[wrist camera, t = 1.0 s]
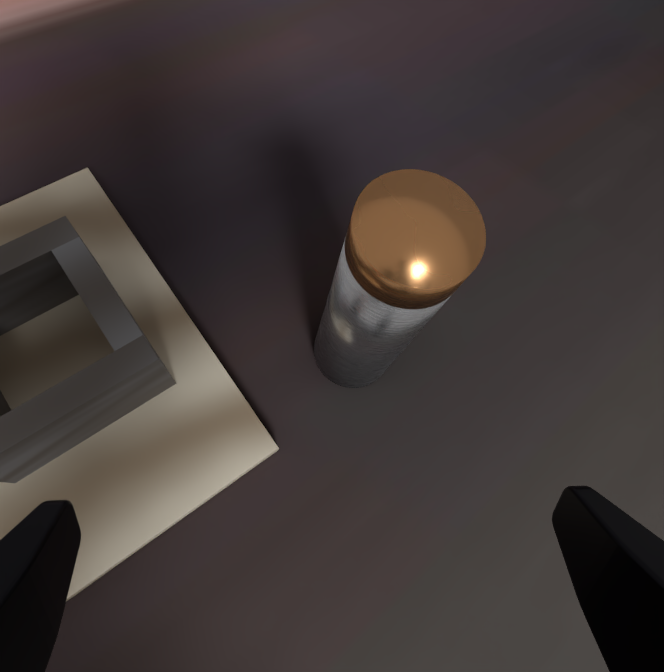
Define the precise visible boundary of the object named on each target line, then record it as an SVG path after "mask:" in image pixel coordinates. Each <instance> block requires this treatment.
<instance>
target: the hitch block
mask: <svg viewBox="0 0 664 672" xmlns="http://www.w3.org/2000/svg"><path fill="white" fill-rule="evenodd" d="M278 449H279V448H278V446H277V445H276V443H275V442H274V440H273V439H272V438H271V436H270V435H269V433H268V432H267V430H266V429H265V427H264V426H263V424H262V423H261V421H260V420H259V418H258V417H257V416H256V414H255V413H254V411H253V410H252V408H251V407H250V405H249V404H248V402H247V401H246V399H245V398H244V396H243V395H242V393H241V392H240V391H239V389H238V388H237V386H236V385H235V383H234V382H233V380H232V379H231V377H230V376H229V374H228V373H227V371H226V370H225V369H224V367H223V366H222V364H221V363H220V361H219V360H218V358H217V357H216V355H215V354H214V352H213V351H212V349H211V348H210V347H209V345H208V344H207V342H206V341H205V339H204V338H203V336H202V335H201V333H200V332H199V330H198V329H197V327H196V326H195V324H194V323H193V322H192V320H191V319H190V317H189V316H188V314H187V313H186V311H185V310H184V308H183V307H182V305H181V304H180V302H179V301H178V300H177V298H176V297H175V295H174V294H173V292H172V291H171V289H170V288H169V286H168V285H167V283H166V282H165V280H164V279H163V278H162V276H161V275H160V273H159V272H158V270H157V269H156V267H155V266H154V264H153V263H152V261H151V260H150V258H149V257H148V255H147V254H146V253H145V251H144V250H143V248H142V247H141V245H140V244H139V242H138V241H137V239H136V238H135V236H134V235H133V233H132V232H131V231H130V229H129V228H128V226H127V225H126V223H125V222H124V220H123V219H122V217H121V216H120V214H119V213H118V211H117V210H116V209H115V207H114V206H113V204H112V203H111V201H110V200H109V198H108V197H107V195H106V194H105V192H104V191H103V189H102V188H101V186H100V185H99V184H98V182H97V181H96V179H95V178H94V176H93V175H92V173H91V172H90V170H89V169H88V168H85V169H83V170H81V171H79V172H76V173H74V174H72V175H70V176H67V177H65V178H63V179H61V180H58V181H56V182H54V183H52V184H49V185H47V186H45V187H43V188H40V189H38V190H36V191H34V192H31V193H29V194H27V195H25V196H22V197H20V198H18V199H16V200H13V201H11V202H9V203H7V204H4V205H2V206H0V540H1V539H2V538H3V537H4V536H5V535H6V534H7V533H8V532H10V531H11V530H12V529H13V528H14V527H15V526H16V525H17V524H18V523H19V522H21V521H22V520H23V519H24V518H25V517H26V516H27V515H28V514H29V513H31V512H32V511H33V510H34V509H35V508H36V507H37V506H38V505H39V504H41V503H42V502H44V501H48V500H69V501H70V502H71V503H72V504H73V507H74V510H75V513H76V516H77V520H78V523H79V526H80V530H81V542H80V547H79V551H78V555H77V559H76V563H75V567H74V571H73V575H72V579H71V583H70V587H69V591H68V595H67V599H66V602H67V601H68V600H69V599H71V598H72V597H74V596H75V595H76V594H78V593H79V592H81V591H82V590H83V589H85V588H86V587H88V586H89V585H90V584H92V583H93V582H95V581H96V580H97V579H99V578H100V577H102V576H103V575H104V574H106V573H107V572H109V571H110V570H111V569H113V568H114V567H116V566H117V565H118V564H120V563H121V562H123V561H124V560H125V559H127V558H128V557H130V556H131V555H132V554H134V553H135V552H137V551H138V550H139V549H141V548H142V547H144V546H145V545H146V544H148V543H149V542H151V541H152V540H153V539H155V538H156V537H158V536H159V535H160V534H162V533H163V532H165V531H166V530H167V529H169V528H170V527H172V526H173V525H174V524H176V523H177V522H179V521H180V520H181V519H183V518H184V517H186V516H187V515H188V514H190V513H191V512H193V511H194V510H195V509H197V508H198V507H200V506H201V505H202V504H204V503H205V502H207V501H208V500H209V499H211V498H212V497H214V496H215V495H216V494H218V493H219V492H221V491H222V490H223V489H225V488H226V487H228V486H229V485H230V484H232V483H233V482H235V481H236V480H237V479H239V478H240V477H242V476H243V475H244V474H246V473H247V472H249V471H250V470H251V469H253V468H254V467H256V466H257V465H258V464H260V463H261V462H263V461H264V460H265V459H267V458H268V457H270V456H271V455H272V454H274V453H275V452H277V451H278Z"/></svg>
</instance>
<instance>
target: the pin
mask: <svg viewBox="0 0 664 672" xmlns="http://www.w3.org/2000/svg"><path fill="white" fill-rule="evenodd" d="M485 244H486V231H485V225H484V221H483V218H482V216H481V213H480V211H479V209H478V208H477V206H476V204H475V203H474V201H473V200H472V199H471V198H470V196H469V195H468V194H467V193H466V192H465V191H464V190H463V189H461V188H460V187H459V186H458V185H456V184H455V183H453V182H452V181H450V180H448V179H446V178H444V177H443V176H440V175H438V174H435V173H432V172H428V171H423V170H416V169H404V170H397V171H392V172H389V173H386V174H384V175H381V176H379V177H378V178H376V179H374V180H373V181H372V182H370V183H369V184H368V185H367V186H366V187H365V188H364V190H363V191H362V192H361V194H360V195H359V197H358V199H357V201H356V203H355V206H354V210H353V213H352V216H351V220H350V223H349V227H348V230H347V233H346V237H345V240H344V244H343V247H342V250H341V254H340V257H339V261H338V264H337V267H336V271H335V274H334V278H333V281H332V284H331V288H330V291H329V295H328V298H327V301H326V305H325V308H324V312H323V315H322V318H321V322H320V325H319V329H318V332H317V335H316V339H315V343H314V357H315V360H316V363H317V365H318V367H319V369H320V371H321V372H322V373H323V374H324V376H325V377H327V378H328V379H329V380H330V381H332V382H333V383H335V384H337V385H340V386H343V387H347V388H359V387H364V386H367V385H369V384H371V383H373V382H375V381H376V380H377V379H378V378H379V377H380V376H381V375H382V374H383V373H384V372H385V371H386V369H387V368H388V367H389V366H390V365H391V364H392V363H393V361H394V360H395V359H396V358H397V357H398V356H399V355H400V353H401V352H402V351H403V350H404V349H405V348H406V347H407V345H408V344H409V343H410V342H411V341H412V340H413V339H414V338H415V336H416V335H417V334H418V333H419V332H420V331H421V330H422V328H423V327H424V326H425V325H426V324H427V323H428V322H429V320H430V319H431V318H432V317H433V316H434V315H435V314H436V313H437V311H438V310H439V309H440V308H441V307H442V306H443V305H444V303H445V302H446V301H447V300H448V299H449V298H450V297H451V295H452V294H453V293H454V292H455V291H456V290H457V289H458V287H459V286H460V285H461V284H462V283H463V282H464V281H465V280H466V278H467V277H468V276H469V275H470V274H471V273H472V272H473V270H474V269H475V268H476V267H477V265H478V264H479V262H480V260H481V258H482V256H483V253H484V250H485Z"/></svg>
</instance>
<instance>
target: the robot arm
mask: <svg viewBox="0 0 664 672" xmlns="http://www.w3.org/2000/svg"><path fill="white" fill-rule="evenodd" d="M552 522H553V527H554V530H555V533H556V536H557V539H558V542H559V545H560V548H561V551H562V554H563V557H564V560H565V563H566V566H567V569H568V572H569V575H570V577H571V580H572V583H573V586H574V589H575V592H576V595H577V598H578V600H579V603H580V606H581V608H582V610H583V613H584V615H585V618H586V620H587V622H588V624H589V627H590V629H591V631H592V633H593V636H594V638H595V640H596V642H597V644H598V647H599V649H600V651H601V653H602V656H603V658H604V660H605V662H606V665H607V667H608V669H609V671H610V672H664V541H663V540H662V539H660V538H659V537H657V536H656V535H655V534H653V533H652V532H651V531H649V530H648V529H647V528H645V527H644V526H643V525H641V524H640V523H638V522H637V521H636V520H634V519H633V518H632V517H630V516H629V515H628V514H626V513H625V512H624V511H622V510H621V509H619V508H618V507H617V506H615V505H614V504H613V503H611V502H610V501H609V500H607V499H606V498H605V497H603V496H602V495H600V494H599V493H598V492H596V491H595V490H594V489H592V488H590V487H588V486H568V487H567V488H565V489H564V491H563V493H562V495H561V497H560V499H559V501H558V503H557V505H556V507H555V510H554V512H553V516H552ZM80 542H81V530H80V526H79V523H78V520H77V516H76V513H75V510H74V507H73V504H72V503H71V502H70V501H69V500H48V501H44V502H42V503H41V504H39V505H38V506H37V507H36V508H35V509H34V510H33V511H32V512H31V513H29V514H28V515H27V516H26V517H25V518H24V519H23V520H22V521H21V522H19V523H18V524H17V525H16V526H15V527H14V528H13V529H12V530H11V531H10V532H8V533H7V534H6V535H5V536H4V537H3V538H2V539H1V540H0V672H45V670H46V667H47V664H48V661H49V659H50V656H51V653H52V650H53V647H54V644H55V641H56V638H57V635H58V631H59V627H60V624H61V620H62V616H63V612H64V608H65V604H66V599H67V595H68V591H69V587H70V583H71V579H72V575H73V571H74V567H75V563H76V559H77V555H78V551H79V547H80Z"/></svg>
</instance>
